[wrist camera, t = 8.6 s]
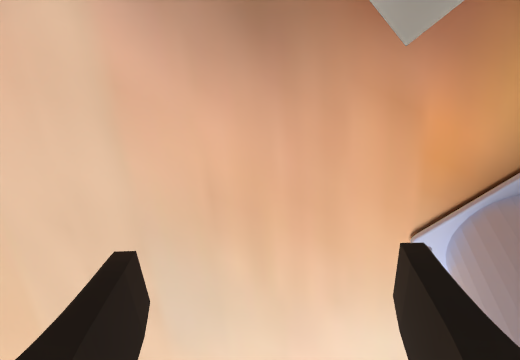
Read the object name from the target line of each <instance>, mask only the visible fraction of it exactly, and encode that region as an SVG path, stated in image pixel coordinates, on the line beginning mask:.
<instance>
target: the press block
mask: <svg viewBox="0 0 520 360" xmlns="http://www.w3.org/2000/svg"><path fill="white" fill-rule="evenodd" d="M463 1H464V0H370V2H371V3H372V4H373V5H374V7H375V8H376V9H377V10H378V12H379V13H380V14H381V16H382V17H383V18H384V19H385V21H386V22H387V23H388V24H389V26H390V27H391V28H392V29H393V31H394V32H395V33H396V34H397V36H398V37H399V38H400V40H401V41H402V42H403V43H404V45H405V46H407V45H408V44H409V43H411V42H412V41H413V40H415V39H416V38H417V37H418V36H420V35H421V34H422V33H423V32H425V31H426V30H427V29H429V28H430V27H431V26H432V25H434V24H435V23H436V22H437V21H439V20H440V19H441V18H443V17H444V16H445V15H446V14H448V13H449V12H450V11H451V10H453V9H454V8H455V7H457V6H458V5H459V4H460V3H462V2H463Z"/></svg>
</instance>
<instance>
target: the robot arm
mask: <svg viewBox="0 0 520 360" xmlns="http://www.w3.org/2000/svg"><path fill="white" fill-rule="evenodd" d="M428 246H429V247H428ZM393 298H394V304H395V309H396V315H397V320H398V325H399V330H400V334H401V337H402V340H403V344H404V347H405V350H406V353H407V357H408V360H520V173H518V174H517V175H515V176H513V177H512V178H510V179H508V180H507V181H505V182H503V183H502V184H500V185H498V186H497V187H495V188H493V189H491V190H490V191H488V192H486V193H485V194H483V195H481V196H480V197H478V198H476V199H475V200H473V201H471V202H470V203H468V204H466V205H464V206H463V207H461V208H459V209H458V210H456V211H454V212H453V213H451V214H449V215H448V216H446V217H444V218H443V219H441V220H439V221H437V222H436V223H434V224H432V225H431V226H429V227H427V228H426V229H424V230H422V231H421V232H419V233H417V234H416V235H414V236H413V237H412V238H411V243H400V249H399V256H398V264H397V271H396V278H395V285H394V293H393ZM149 306H150V299H149V296H148V292H147V289H146V285H145V282H144V278H143V275H142V271H141V267H140V264H139V260H138V257H137V253H136V251H124V252H114V253H113V254H112V255H111V256H110V257H109V258H108V259H107V261H106V262H105V263H104V264H103V265H102V267H101V268H100V269H99V270H98V272H97V273H96V274H95V275H94V276H93V278H92V279H91V280H90V281H89V282H88V284H87V285H86V286H85V287H84V288H83V289H82V291H81V292H80V293H79V294H78V295H77V296H76V298H75V299H74V300H73V301H72V302H71V303H70V304H69V305H68V307H67V308H66V309H65V310H64V311H63V312H62V313H61V314H60V316H59V317H58V318H57V319H56V320H55V321H54V322H53V323H52V324H51V325H50V326H49V327H48V328H47V329H46V330H45V331H44V332H43V333H42V334H41V335H40V336H39V338H38V339H37V340H35V341H34V342H33V343H32V344H31V345H30V346H29V347H28V348H27V349H26V350H25V351H24V352H23V353H22V354H21V355H20V356H19V357H18V358H17V359H15V360H138V357H139V354H140V350H141V347H142V343H143V340H144V336H145V330H146V325H147V319H148V312H149Z"/></svg>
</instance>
